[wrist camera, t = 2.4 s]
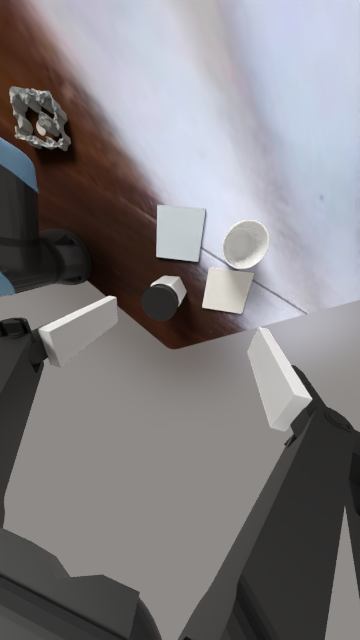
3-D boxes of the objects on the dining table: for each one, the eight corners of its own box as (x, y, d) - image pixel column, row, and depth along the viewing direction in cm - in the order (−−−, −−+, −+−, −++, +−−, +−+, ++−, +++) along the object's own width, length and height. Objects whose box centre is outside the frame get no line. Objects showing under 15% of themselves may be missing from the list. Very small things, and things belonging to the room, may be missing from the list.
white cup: (227, 221, 34) (233, 213, 25) (261, 231, 34) (279, 227, 25) (214, 258, 38) (215, 262, 29) (245, 267, 37) (255, 274, 28)
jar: (175, 309, 46) (164, 328, 35) (152, 294, 45) (134, 309, 35) (192, 285, 42) (185, 299, 31) (167, 268, 41) (151, 276, 30)
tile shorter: (202, 306, 44) (202, 307, 43) (209, 267, 39) (209, 267, 38) (241, 312, 42) (241, 313, 42) (253, 272, 37) (254, 273, 37)
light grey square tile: (157, 256, 40) (156, 256, 39) (158, 205, 35) (157, 204, 34) (198, 261, 39) (198, 261, 38) (205, 209, 34) (205, 208, 33)
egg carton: (32, 149, 35) (12, 138, 32) (22, 99, 32) (-2, 80, 28) (73, 156, 34) (57, 145, 31) (68, 105, 31) (48, 86, 27)
